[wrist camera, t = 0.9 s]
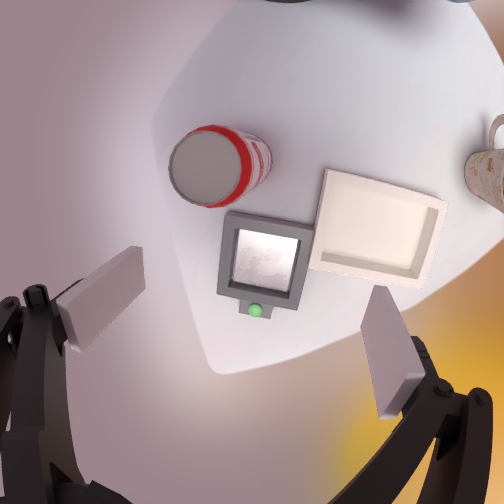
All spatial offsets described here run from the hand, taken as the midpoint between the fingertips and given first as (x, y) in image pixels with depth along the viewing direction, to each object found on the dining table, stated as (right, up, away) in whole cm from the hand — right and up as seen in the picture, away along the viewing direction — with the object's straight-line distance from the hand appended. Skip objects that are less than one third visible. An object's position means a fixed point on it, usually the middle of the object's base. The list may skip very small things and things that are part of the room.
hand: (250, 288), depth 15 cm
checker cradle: (+2, 0, +22) cm, 22 cm away
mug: (+31, +15, +12) cm, 36 cm away
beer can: (0, +13, +18) cm, 22 cm away
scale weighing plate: (+2, +1, +22) cm, 22 cm away
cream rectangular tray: (+15, +5, +18) cm, 24 cm away
